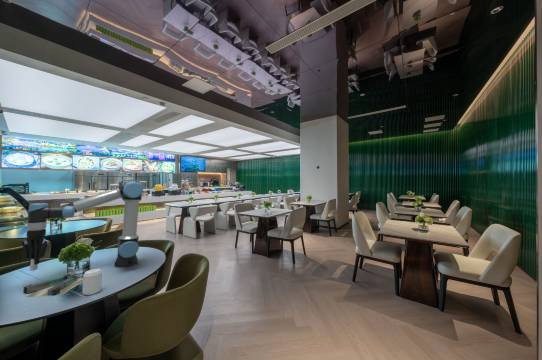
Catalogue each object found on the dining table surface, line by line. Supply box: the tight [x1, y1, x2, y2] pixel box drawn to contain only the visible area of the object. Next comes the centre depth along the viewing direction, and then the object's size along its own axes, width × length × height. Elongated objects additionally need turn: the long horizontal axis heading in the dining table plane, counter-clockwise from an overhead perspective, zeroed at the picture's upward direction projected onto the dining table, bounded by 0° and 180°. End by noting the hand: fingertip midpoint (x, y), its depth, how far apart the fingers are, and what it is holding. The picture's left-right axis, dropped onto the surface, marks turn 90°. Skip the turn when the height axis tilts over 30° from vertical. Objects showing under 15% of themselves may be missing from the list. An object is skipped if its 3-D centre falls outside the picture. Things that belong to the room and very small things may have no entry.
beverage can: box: [82, 268, 103, 296], centre depth 116 cm, size 8×8×12 cm
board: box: [25, 277, 83, 298], centre depth 120 cm, size 17×21×1 cm
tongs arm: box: [22, 272, 77, 294], centre depth 121 cm, size 6×21×4 cm, turn 155°
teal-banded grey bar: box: [46, 275, 78, 297], centre depth 120 cm, size 7×20×3 cm, turn 10°
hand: (33, 269), depth 119 cm, fingers closed
